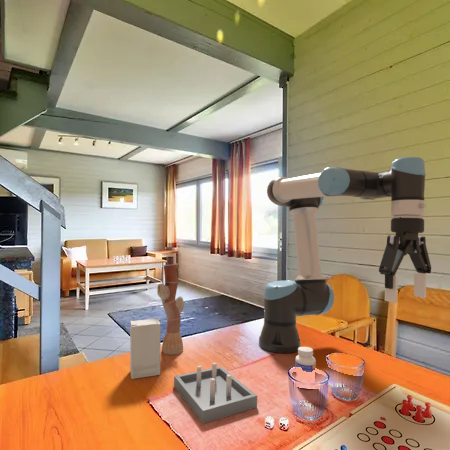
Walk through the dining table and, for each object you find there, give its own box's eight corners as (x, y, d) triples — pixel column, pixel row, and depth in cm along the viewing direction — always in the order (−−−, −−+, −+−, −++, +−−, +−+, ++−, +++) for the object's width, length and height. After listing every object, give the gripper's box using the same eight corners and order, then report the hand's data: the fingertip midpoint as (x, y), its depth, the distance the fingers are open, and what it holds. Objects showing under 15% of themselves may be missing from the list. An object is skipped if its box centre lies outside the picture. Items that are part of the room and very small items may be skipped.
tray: (173, 386, 81) (174, 362, 81) (220, 375, 88) (221, 353, 88) (202, 423, 65) (203, 394, 66) (257, 407, 72) (257, 380, 72)
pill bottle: (316, 391, 80) (317, 353, 81) (295, 389, 81) (295, 351, 82) (314, 381, 86) (315, 346, 86) (294, 379, 87) (295, 344, 87)
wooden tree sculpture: (180, 345, 111) (182, 262, 112) (188, 352, 105) (190, 264, 106) (151, 350, 106) (154, 262, 107) (157, 357, 100) (160, 264, 101)
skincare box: (157, 367, 93) (159, 317, 93) (160, 376, 87) (162, 323, 87) (128, 371, 90) (130, 319, 90) (129, 380, 84) (131, 325, 85)
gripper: (393, 214, 71) (392, 307, 70) (446, 219, 84) (445, 298, 83) (364, 215, 77) (362, 300, 77) (417, 219, 90) (416, 292, 90)
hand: (405, 299), depth 80 cm, fingers open, 13 cm apart
